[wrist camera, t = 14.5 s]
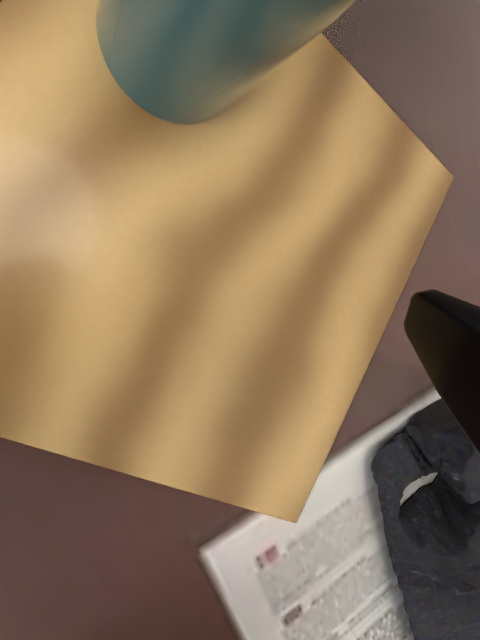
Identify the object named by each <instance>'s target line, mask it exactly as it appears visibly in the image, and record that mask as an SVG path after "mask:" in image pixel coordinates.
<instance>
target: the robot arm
mask: <svg viewBox="0 0 480 640" xmlns="http://www.w3.org/2000/svg"><path fill="white" fill-rule="evenodd" d="M404 329H405V332H406V334H407V336H408V338H409V340H410V342H411V344H412V346H413V348H414V349H415V351H416V353H417V355H418V357H419V359H420V361H421V363H422V364H423V366H424V368H425V370H426V372H427V374H428V376H429V378H430V379H431V381H432V383H433V385H434V387H435V388H436V390H437V392H438V393H439V395H440V396H441V398H442V400H443V401H444V403H445V404H446V406H447V407H448V409H449V410H450V411H451V413H452V414H453V416H454V417H455V419H456V420H457V422H458V423H459V425H460V426H461V428H462V429H463V431H464V432H465V434H466V435H467V437H468V438H469V440H470V441H471V442H472V444H473V445H474V447H475V448H476V450H477V451H478V453H479V454H480V307H479V306H476V305H473V304H471V303H468V302H466V301H463V300H460V299H458V298H455V297H453V296H450V295H447V294H445V293H442V292H440V291H437V290H426V291H421V292H417V293H415V294H414V295H413V296H412V297H411V300H410V304H409V307H408V310H407V314H406V317H405V321H404Z"/></svg>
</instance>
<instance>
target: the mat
mask: <svg viewBox="0 0 480 640" xmlns="http://www.w3.org/2000/svg"><path fill="white" fill-rule="evenodd" d="M97 3H98V0H2V1H1V3H0V437H2V438H5V439H9V440H12V441H16V442H19V443H23V444H26V445H29V446H33V447H36V448H40V449H43V450H47V451H50V452H53V453H57V454H60V455H64V456H67V457H71V458H74V459H77V460H81V461H84V462H88V463H91V464H95V465H98V466H101V467H105V468H108V469H112V470H115V471H119V472H122V473H125V474H129V475H132V476H136V477H139V478H143V479H146V480H150V481H153V482H156V483H160V484H163V485H167V486H170V487H174V488H177V489H180V490H184V491H187V492H191V493H194V494H198V495H201V496H204V497H208V498H211V499H215V500H218V501H222V502H225V503H228V504H232V505H235V506H239V507H242V508H246V509H249V510H252V511H256V512H259V513H263V514H266V515H270V516H273V517H277V518H280V519H283V520H287V521H290V522H294V523H297V521H298V518H299V516H300V514H301V512H302V510H303V507H304V505H305V503H306V501H307V499H308V496H309V494H310V492H311V490H312V488H313V486H314V483H315V481H316V479H317V477H318V475H319V472H320V470H321V468H322V466H323V464H324V461H325V459H326V457H327V455H328V453H329V450H330V448H331V446H332V444H333V442H334V440H335V437H336V435H337V433H338V431H339V429H340V426H341V424H342V422H343V420H344V418H345V415H346V413H347V411H348V409H349V407H350V405H351V402H352V400H353V398H354V396H355V394H356V391H357V389H358V387H359V385H360V383H361V380H362V378H363V376H364V374H365V372H366V369H367V367H368V365H369V363H370V361H371V359H372V356H373V354H374V352H375V350H376V348H377V345H378V343H379V341H380V339H381V337H382V334H383V332H384V330H385V328H386V326H387V323H388V321H389V319H390V317H391V315H392V313H393V310H394V308H395V306H396V304H397V302H398V299H399V297H400V295H401V293H402V291H403V288H404V286H405V284H406V282H407V280H408V278H409V275H410V273H411V271H412V269H413V267H414V264H415V262H416V260H417V258H418V256H419V253H420V251H421V249H422V247H423V245H424V242H425V240H426V238H427V236H428V234H429V232H430V229H431V227H432V225H433V223H434V221H435V218H436V216H437V214H438V212H439V210H440V207H441V205H442V203H443V201H444V199H445V197H446V194H447V192H448V190H449V188H450V186H451V183H452V181H453V179H454V177H453V176H452V174H451V173H450V172H449V171H448V170H447V169H446V168H445V167H444V166H443V165H442V164H441V162H440V161H439V160H438V159H437V158H436V157H435V156H434V155H433V154H432V153H431V152H430V151H429V149H428V148H427V147H426V146H425V145H424V144H423V143H422V142H421V141H420V140H419V139H418V137H417V136H416V135H415V134H414V133H413V132H412V131H411V130H410V129H409V128H408V127H407V125H406V124H405V123H404V122H403V121H402V120H401V119H400V118H399V117H398V116H397V115H396V114H395V112H394V111H393V110H392V109H391V108H390V107H389V106H388V105H387V104H386V103H385V102H384V100H383V99H382V98H381V97H380V96H379V95H378V94H377V93H376V92H375V91H374V90H373V89H372V87H371V86H370V85H369V84H368V83H367V82H366V81H365V80H364V79H363V78H362V77H361V75H360V74H359V73H358V72H357V71H356V70H355V69H354V68H353V67H352V66H351V65H350V63H349V62H348V61H347V60H346V59H345V58H344V57H343V56H342V55H341V54H340V53H339V52H338V50H337V49H336V48H335V47H334V46H333V45H332V44H331V43H330V42H329V41H328V40H327V38H326V37H325V36H324V35H323V34H322V33H321V34H319V35H318V36H317V37H316V38H314V39H313V40H312V41H311V42H309V43H308V44H307V45H306V46H304V47H303V48H302V49H301V50H299V51H298V52H297V53H296V54H294V55H293V56H292V57H291V58H289V59H288V60H287V61H286V62H284V63H283V64H282V65H280V66H279V67H278V68H277V69H275V70H274V71H273V72H272V73H270V74H269V75H268V76H267V77H265V78H264V79H263V80H262V81H260V82H259V83H258V84H257V85H255V86H254V87H253V88H252V89H250V90H249V91H248V92H247V93H245V94H244V95H243V96H242V97H240V98H239V99H238V100H237V101H235V102H234V103H233V104H232V105H230V106H229V107H228V108H227V109H225V110H224V111H223V112H222V113H220V114H219V115H217V116H216V117H214V118H212V119H210V120H208V121H205V122H201V123H197V124H178V123H172V122H169V121H166V120H163V119H160V118H158V117H156V116H154V115H152V114H150V113H149V112H147V111H145V110H144V109H142V108H141V107H140V106H139V105H137V104H136V103H135V102H134V101H133V100H132V99H131V98H130V97H129V96H128V95H127V94H126V93H125V92H124V91H123V90H122V88H121V87H120V86H119V85H118V83H117V82H116V80H115V79H114V77H113V76H112V74H111V72H110V70H109V68H108V66H107V65H106V62H105V60H104V57H103V55H102V52H101V49H100V45H99V41H98V36H97V29H96V11H97Z"/></svg>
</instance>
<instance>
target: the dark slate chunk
mask: <svg viewBox="0 0 480 640" xmlns="http://www.w3.org/2000/svg"><path fill="white" fill-rule="evenodd" d="M437 471H438V475H437V477H436V479H435V481H434V482H433V484H432V485H428V486H423V487H422V488H421V489H419V490H418V491H417V492H416V493H415V495H414V496H413V497H412V498H411V499H409V500H408V501H407V502H406V503H405V504H404V505H403V506H402V507H401V508H400V500H401V498H402V496H403V490H404V489H405V488H406V487H407V486H408V485H409V484H410V483H411V482H413V481H415V480H417V479H418V478H420V479H421V477H422V476H427V475H428V474H430V473H433V472H437ZM372 472H373V478H374V480H375V482H376V484H377V485H378V497H379V501H380V503H381V512H382V515H383V523H384V531H385V536H386V541H387V545H388V548H389V555H390V558H391V560H392V564H393V569H394V572H395V573H396V575H397V578H398V583H399V587H400V589H401V590H402V593H403V600H404V606H405V610H406V612H407V614H408V617H409V623H410V626H411V629H412V631H413V635H414V639H415V640H480V454H479V453H478V451H477V450H476V448H475V447H474V445H473V444H472V442H471V441H470V440H469V438H468V437H467V435H466V434H465V432H464V431H463V429H462V428H461V426H460V425H459V423H458V422H457V420H456V419H455V417H454V416H453V414H452V413H451V411H450V410H449V409H448V407H447V406H446V404H445V403H444V401H443V400H442V399H441V400H438V401H437V402H435V403H433V404H431V405H429V406H428V407H427V408H425V409H424V410H422V411H420V412H418V413H417V414H416V415H415V416H413V417H412V419H411V420H410V423H409V424H408V425H407V426H406V428H405V430H404V431H403V432H402V433H400V434H399V433H397V434H396V435H394V437H393V438H392V440H391V441H390V443H389V444H387V445H386V446H385V447H384V449H380V450H378V451H377V453H376V456H375V458H374V459H373V462H372Z"/></svg>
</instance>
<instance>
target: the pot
mask: <svg viewBox="0 0 480 640" xmlns="http://www.w3.org/2000/svg"><path fill="white" fill-rule="evenodd" d="M361 1H362V0H98V3H97V11H96V29H97V36H98V41H99V45H100V49H101V52H102V55H103V57H104V60H105V62H106V65H107V66H108V68H109V70H110V72H111V74H112V76H113V77H114V79H115V80H116V82H117V83H118V85H119V86H120V87H121V88H122V90H123V91H124V92H125V93H126V94H127V95H128V96H129V97H130V98H131V99H132V100H133V101H134V102H135V103H136V104H137V105H139V106H140V107H141V108H142V109H144V110H145V111H147V112H149V113H150V114H152V115H154V116H156V117H158V118H160V119H163V120H166V121H169V122H172V123H178V124H197V123H201V122H205V121H208V120H210V119H212V118H214V117H216V116H217V115H219V114H220V113H222V112H223V111H224V110H225V109H227V108H228V107H229V106H230V105H232V104H233V103H234V102H235V101H237V100H238V99H239V98H240V97H242V96H243V95H244V94H245V93H247V92H248V91H249V90H250V89H252V88H253V87H254V86H255V85H257V84H258V83H259V82H260V81H262V80H263V79H264V78H265V77H267V76H268V75H269V74H270V73H272V72H273V71H274V70H275V69H277V68H278V67H279V66H280V65H282V64H283V63H284V62H286V61H287V60H288V59H289V58H291V57H292V56H293V55H294V54H296V53H297V52H298V51H299V50H301V49H302V48H303V47H304V46H306V45H307V44H308V43H309V42H311V41H312V40H313V39H314V38H316V37H317V36H318V35H319V34H321V33H322V32H323V31H324V30H326V29H327V28H328V27H329V26H331V25H332V24H333V23H334V22H336V21H337V20H338V19H339V18H341V17H342V16H343V15H344V14H346V13H347V12H348V11H349V10H351V9H352V8H353V7H354V6H356V5H357V4H358V3H359V2H361Z"/></svg>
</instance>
